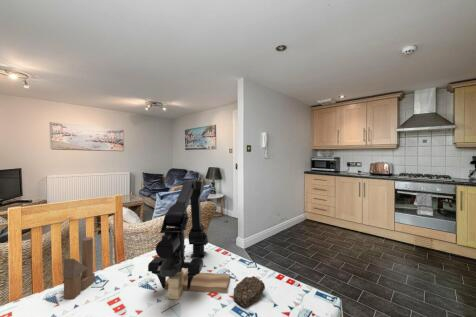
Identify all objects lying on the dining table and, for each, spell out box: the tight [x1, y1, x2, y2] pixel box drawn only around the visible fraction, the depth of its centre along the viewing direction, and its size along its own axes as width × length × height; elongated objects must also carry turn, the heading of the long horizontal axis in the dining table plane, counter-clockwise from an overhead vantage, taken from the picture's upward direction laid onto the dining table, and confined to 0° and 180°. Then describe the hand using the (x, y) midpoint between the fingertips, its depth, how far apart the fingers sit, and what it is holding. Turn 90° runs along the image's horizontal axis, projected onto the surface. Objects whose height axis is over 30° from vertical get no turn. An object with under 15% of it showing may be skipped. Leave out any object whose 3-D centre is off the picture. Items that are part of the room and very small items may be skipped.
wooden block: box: [63, 236, 96, 300], centre depth 78 cm, size 4×11×18 cm, turn 179°
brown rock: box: [233, 275, 266, 308], centre depth 74 cm, size 12×10×5 cm
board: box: [163, 272, 231, 294], centre depth 81 cm, size 9×24×2 cm, turn 84°
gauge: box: [167, 268, 189, 300], centre depth 79 cm, size 14×4×7 cm, turn 174°
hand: (176, 288), depth 75 cm, fingers open, 9 cm apart
